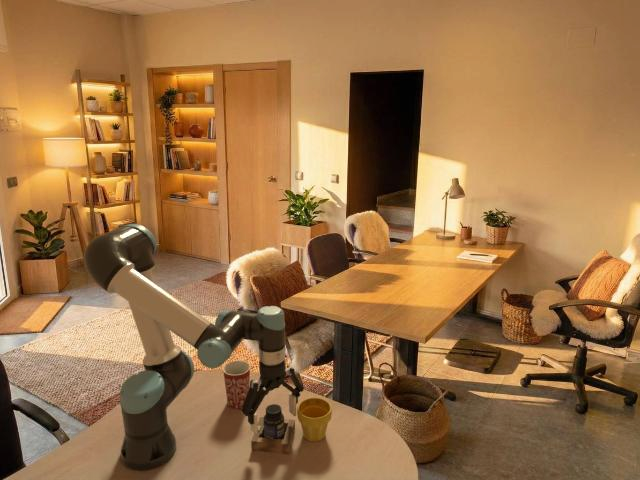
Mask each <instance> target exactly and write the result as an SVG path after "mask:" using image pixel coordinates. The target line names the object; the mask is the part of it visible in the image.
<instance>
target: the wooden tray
mask: <svg viewBox="0 0 640 480" xmlns="http://www.w3.org/2000/svg"><path fill="white" fill-rule="evenodd" d="M257 425H258V434H256V435H255V434H254V433H253V436H252V438H251V441H250V446H251V447H250V448H251V452H258V453H269V454H280V455H281V454H282V455H289V454H290V450H291V447H292V443H293V438H294V434H295V432H296V420H295V419H287V418H284V434H285V437H284V440H281V439H270V438H264V416H263V417H262V416H260V417H259V419H258V420H257Z"/></svg>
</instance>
